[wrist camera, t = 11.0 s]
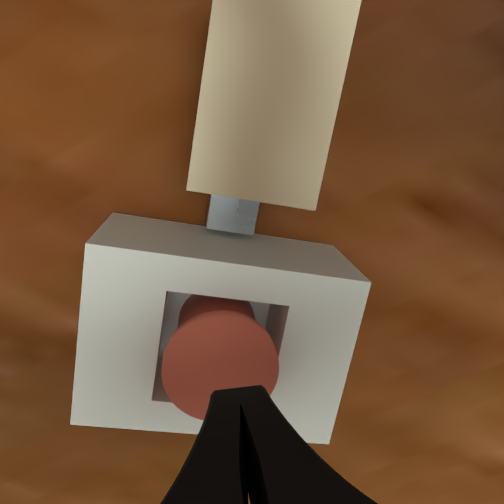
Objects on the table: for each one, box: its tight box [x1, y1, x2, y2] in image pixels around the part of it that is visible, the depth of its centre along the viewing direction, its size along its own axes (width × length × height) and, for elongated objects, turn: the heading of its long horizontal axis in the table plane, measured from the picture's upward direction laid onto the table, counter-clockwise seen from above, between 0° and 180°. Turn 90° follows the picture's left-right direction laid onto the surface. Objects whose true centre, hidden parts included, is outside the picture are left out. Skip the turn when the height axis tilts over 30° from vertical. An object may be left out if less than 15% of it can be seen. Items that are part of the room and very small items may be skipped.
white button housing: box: [70, 212, 371, 444], centre depth 19 cm, size 10×7×5 cm
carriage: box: [186, 0, 361, 211], centre depth 16 cm, size 4×6×6 cm, turn 170°
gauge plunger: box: [161, 294, 279, 420], centre depth 17 cm, size 4×4×4 cm
